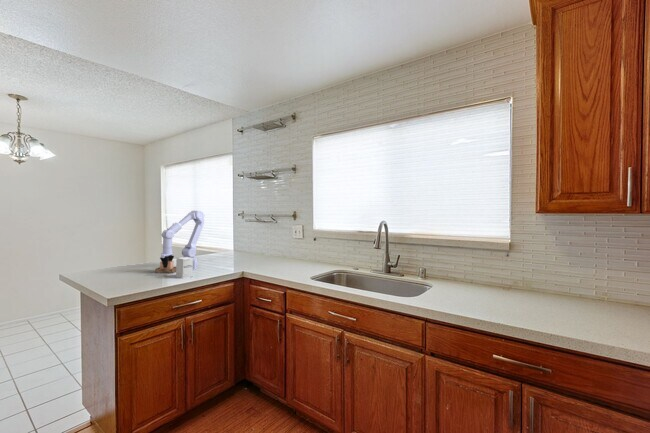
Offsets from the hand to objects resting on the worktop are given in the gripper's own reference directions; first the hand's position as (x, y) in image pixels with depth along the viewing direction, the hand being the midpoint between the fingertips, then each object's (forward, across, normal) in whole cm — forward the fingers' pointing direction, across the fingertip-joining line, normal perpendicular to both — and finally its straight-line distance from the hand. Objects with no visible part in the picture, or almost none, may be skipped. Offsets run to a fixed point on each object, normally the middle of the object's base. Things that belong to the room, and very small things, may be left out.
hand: (167, 266), depth 211 cm
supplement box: (+4, +13, +17) cm, 22 cm away
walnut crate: (+4, 0, 0) cm, 4 cm away
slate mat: (+4, +4, -2) cm, 6 cm away
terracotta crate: (+1, 0, 0) cm, 1 cm away
